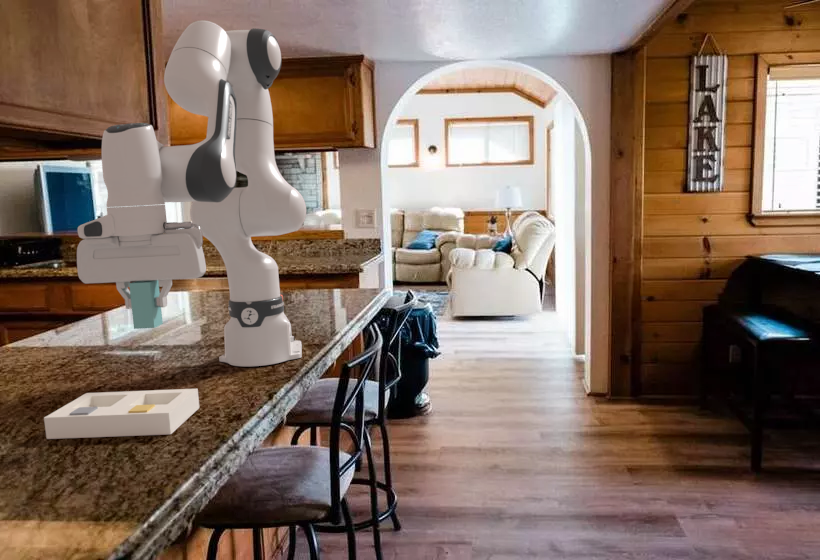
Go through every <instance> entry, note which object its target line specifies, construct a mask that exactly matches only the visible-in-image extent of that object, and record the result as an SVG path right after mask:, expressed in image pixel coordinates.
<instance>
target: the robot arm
mask: <svg viewBox="0 0 820 560" xmlns="http://www.w3.org/2000/svg"><path fill="white" fill-rule="evenodd" d="M282 61H283V60H282V50H281V47H280V43H279V42H278V39H277V38H276V36H275V35H274V34H273V33H272V32H271V31H270V30H268V29H263V28H255V27H254V28H253V27H252V28H250V29H235V30H232V29H231V30H225V29H224V28H223V27H221V26H220V25H218V24H217V23H215V22H212V21H209V20H204V19H203V20H197V21H194V22H191V23H190V24H189V25H187V27H186V28H185V29H184V31H183V32H182V33H181V35H180V36H179V37H178V39H177V41H176V42H175V45H174V46H173V49H172V50H171V53H170V55H169V58H168V61H167V64H166V66H165V69H164V70H165V71H164V76H163V82H164V83H163V84H164V87H165V90H166V92H167V94H168V95H169V97H170V99H172V101H173V102H174V103H175V104H177V106H179V107H180V108H181V109H183V110H185V111H186V112H187V113H188V112H189V113H191V114H194V115H198V116H204V117H207V127H206V137H205V138H204V139H203V140H202V141H200V142H197V143H194V144H186V145H183V144H182V145H172V146H168V145H165V144H163V143H161V142H160V141H159V140H157V137H156V132H155V130H154V126H153V125H152V124H150V123H148V122H133V123H132V122H131V123H125V124H124V123H123V124H122V123H121V124H115V125H111V126H109V127H107V128H106V129H104V130H103V134H102V138H101V168H102V178H103V182H104V185H105V187H106V190H107V200H106V215H103V216H100V217H98V218H95V219H94V220H91V221H87V222H85V223H83V224H80V225H78V227H77V234H78V237H79V238H80V239H82V240H80V241H79V243H78V245H77V248H76V268H77V275H78V278H79V280H80V281H81V282H82V283H83V284H104V283H105V284H107V283H115V285H116V290H117V291H118V293H119V294H120V295H121V297H122V298H123V300H124V305H125V309H126V310H132V306H131V296H130V287H129V283H131V282H136V281H151V280H158V281H159V288H160V287H161V291H160V295H159V296H157V297H154V302H155V304H154V305H155V308H161V309H162V308H166V307H167V306H168V297H167V296H168V295H169V293H170V291H171V288H172V286H173V280H192V279H198V278H201V277H203V276H204V275H205V273H206V271H207V264H206V258H205V253H204V249H203V243H204V239H203V238H205V239H207V240H208V241H209V242H210V243H211V244H213V246H214V247H215V249H216V250H217V251H218V254H220V255H219V256H221V258H222V261H223V264H224V266H225V270H226V275H227V282H228V289H229V300H228V305H227V306H228V316H230V319H229V320H228V321H227V322H226V323H225V325H224V328H223V330H224V333H223V334H224V337H223V338H224V353H223V354H222V355H219V357H218V359H219V360H218V361H219V362H221V363H225V364H229V365H231V366H234V367H259V366H260V367H261V366H269V365H275V364H279V363H283V362H287V361H290V360H296V359H297V360H298V359H300V358H302V355H303V354H302V353H303V352H302V351H303V350H302V349H303V344H302V340H298V339H297V340H296V339H295V336H294V335H292V324H291V322H290V319H288V317H287V315H286V314H285V312H284V311H285V306H284V303H285V302H284V295H283V294H281V288H280V287H281V286H280V278H279V275H280V274H279V266H278V264H277V262H276V260H275V259H274V258H273V257H271V256H270V255H269V254H266V253H265V252H262V251H260V250H258V249H257V248H256V246H255V245H254V244H253V241H252V237H273V236H275V237H276V236H281V235H285V234H289V233H293V232H297V231H299V230H300V229H301V227H303V225H304V222H305V220H306V217H307V205H306V201H305V199H304V197H303V195H302V194H301V192H299V190H297V188H295V187H293V186H292V185H291V184H290V183H288V182H287V181H286V179H285V178H284V176H283V175H282V173H281V172H280V170H279V168H278V165H277V162H276V161H277V160H276V155H275V143H274V116H273V106H272V102H271V101H272V99H271V96H270V91H269V88H271V87H272V85H273V83H274V81H275V79H276V78H277V77H278V75H279V74H280V70H281V68H282ZM238 172H239V173H240V174H243V175H245V176H246V177H247V186H244V187H236V185H237V173H238ZM186 202H192V203H191V204H190V211H189V217H190V221H182V222H176V221H175V222H168V221H167V210H166V203H186Z"/></svg>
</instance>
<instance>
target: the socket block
mask: <svg viewBox="0 0 820 560" xmlns="http://www.w3.org/2000/svg"><path fill="white" fill-rule="evenodd" d="M199 399H200V398H199V390H198V388H183V389H182V388H180V389H179V388H178V389H154V390H130V391H129V390H128V391H127V390H125V391H104V392H86V393H84V394H82V395H81V396H78V397H77V398H76V399H74V400H72V401H70V402H68V403H67V404H65V405H63V406H62V407H60V408H57V410H54V411H53V412H51V413H50V414H48V415H46V416H44V417H43V422H44V429H45V437H46V440H57V439H80V438H84V439H85V438H106V437H107V438H108V437H109V438H110V437H113V438H114V437H135V436H139V437H140V436H160V435H166V436H167V435H172V434H173V433H174V432H176V430H177V429H178V428H180V426H181V425H183V424H185V422H186V421H187V420H188V419H189V418H190V417H192V415H193V414H195V413H196V412H197V411H198V410H199V409H200V400H199Z"/></svg>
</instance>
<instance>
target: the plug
mask: <svg viewBox="0 0 820 560" xmlns="http://www.w3.org/2000/svg"><path fill="white" fill-rule="evenodd" d="M128 288H129V291H130V296H131V306H132V309H131V316H132V323H133V324H132V325H133V329H134V330H136V329H155V328H158V327H159V326H162V325H163V324H164V322H163V314H162V307H161V308H155V305H154V304H155V302H154V297H157V296H159V295H160V292H161V291H160V287H159V281H158V280H151V281H131V282H130V283H129V287H128Z"/></svg>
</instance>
